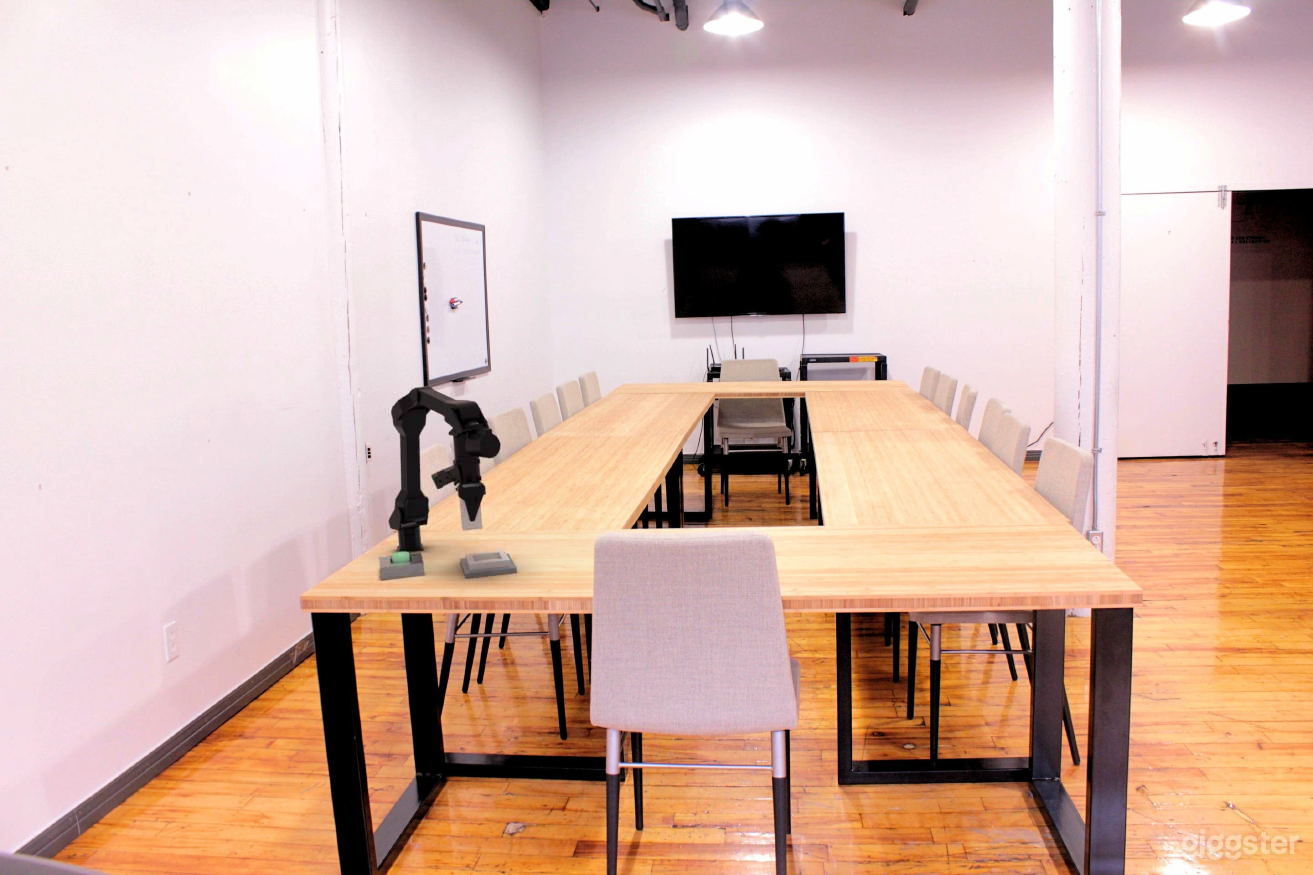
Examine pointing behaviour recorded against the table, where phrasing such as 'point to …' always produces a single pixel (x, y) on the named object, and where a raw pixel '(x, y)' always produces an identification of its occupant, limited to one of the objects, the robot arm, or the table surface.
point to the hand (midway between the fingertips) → (471, 519)
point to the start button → (400, 557)
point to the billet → (466, 521)
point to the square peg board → (401, 567)
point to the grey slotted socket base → (487, 564)
